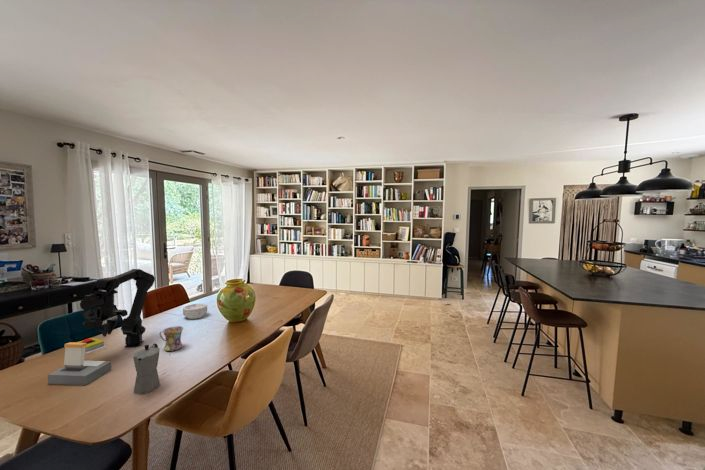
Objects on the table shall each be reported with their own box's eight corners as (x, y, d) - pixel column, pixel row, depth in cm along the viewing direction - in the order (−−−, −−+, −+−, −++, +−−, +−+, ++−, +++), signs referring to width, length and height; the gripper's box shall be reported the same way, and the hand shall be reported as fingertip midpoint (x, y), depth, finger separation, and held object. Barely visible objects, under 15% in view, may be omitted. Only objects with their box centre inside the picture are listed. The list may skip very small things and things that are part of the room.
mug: (187, 345, 156) (187, 326, 155) (176, 352, 146) (176, 333, 146) (165, 344, 156) (165, 325, 155) (153, 352, 147) (153, 332, 146)
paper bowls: (193, 312, 209) (193, 302, 208) (211, 314, 207) (211, 303, 206) (177, 319, 194) (177, 308, 193) (197, 321, 192) (197, 310, 191)
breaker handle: (68, 366, 123) (70, 342, 123) (84, 366, 123) (86, 342, 123) (62, 368, 120) (64, 344, 121) (79, 369, 120) (81, 344, 121)
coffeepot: (152, 395, 111) (152, 351, 110) (124, 398, 109) (124, 353, 108) (168, 375, 126) (168, 335, 125) (144, 377, 124) (144, 337, 123)
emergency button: (90, 334, 157) (107, 339, 152) (90, 342, 157) (107, 347, 152) (68, 341, 148) (86, 346, 143) (69, 349, 148) (86, 354, 143)
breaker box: (76, 368, 129) (76, 359, 129) (110, 370, 129) (110, 360, 128) (47, 383, 117) (47, 373, 117) (85, 385, 117) (85, 375, 116)
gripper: (107, 298, 146) (107, 327, 147) (70, 309, 128) (71, 343, 128) (128, 299, 146) (128, 328, 147) (94, 310, 128) (95, 343, 128)
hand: (106, 335), depth 138 cm, fingers closed
